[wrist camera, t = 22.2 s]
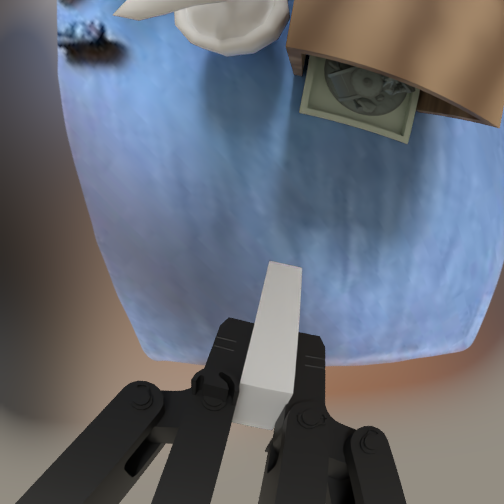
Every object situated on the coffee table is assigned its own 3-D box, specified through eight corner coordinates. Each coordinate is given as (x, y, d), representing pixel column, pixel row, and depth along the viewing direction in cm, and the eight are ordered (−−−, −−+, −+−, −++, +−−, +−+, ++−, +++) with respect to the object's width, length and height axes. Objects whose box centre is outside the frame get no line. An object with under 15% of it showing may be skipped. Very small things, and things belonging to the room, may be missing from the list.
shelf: (294, 74, 30) (285, 46, 15) (312, -26, 22) (313, -101, 6) (419, 112, 29) (499, 128, 14) (434, 13, 21) (505, -22, 5)
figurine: (417, 103, 28) (463, 108, 17) (344, 126, 31) (363, 137, 21) (385, 29, 24) (418, 1, 13) (308, 50, 27) (310, 25, 17)
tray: (299, 112, 32) (298, 112, 31) (317, 15, 25) (317, 10, 23) (402, 141, 31) (407, 144, 30) (420, 48, 24) (426, 46, 22)
